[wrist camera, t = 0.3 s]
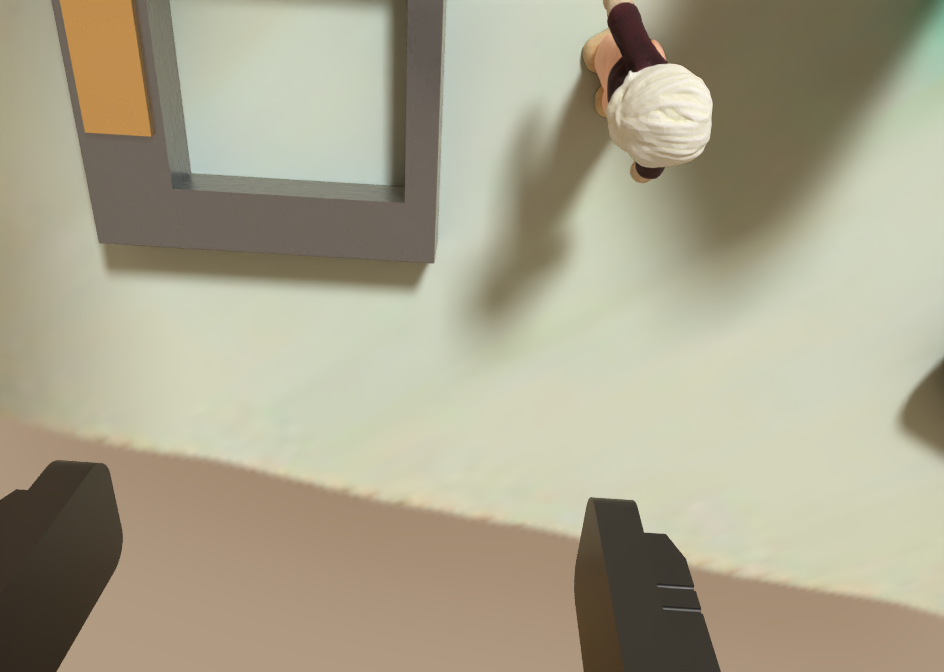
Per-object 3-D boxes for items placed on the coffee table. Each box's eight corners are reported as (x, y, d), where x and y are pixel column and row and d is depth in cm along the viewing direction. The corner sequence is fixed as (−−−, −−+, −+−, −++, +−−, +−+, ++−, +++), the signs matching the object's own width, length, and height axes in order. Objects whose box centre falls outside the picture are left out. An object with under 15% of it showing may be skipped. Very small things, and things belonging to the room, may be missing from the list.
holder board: (51, -166, 31) (13, -174, 28) (451, -140, 31) (448, -146, 28) (121, 225, 39) (96, 245, 36) (437, 244, 39) (433, 265, 37)
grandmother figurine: (683, 120, 36) (771, 206, 25) (608, 155, 37) (660, 254, 25) (626, -41, 32) (697, -25, 21) (545, 2, 33) (572, 38, 22)
